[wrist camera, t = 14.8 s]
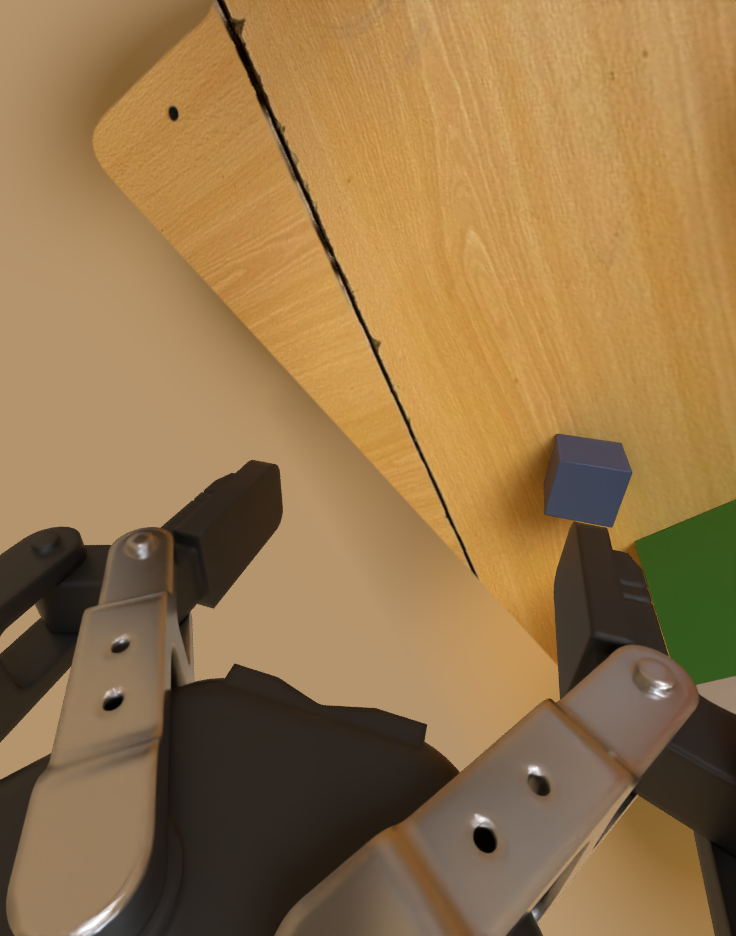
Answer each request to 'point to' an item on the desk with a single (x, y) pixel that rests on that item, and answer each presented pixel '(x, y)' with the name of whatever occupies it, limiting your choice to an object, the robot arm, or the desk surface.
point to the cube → (586, 480)
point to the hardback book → (697, 598)
